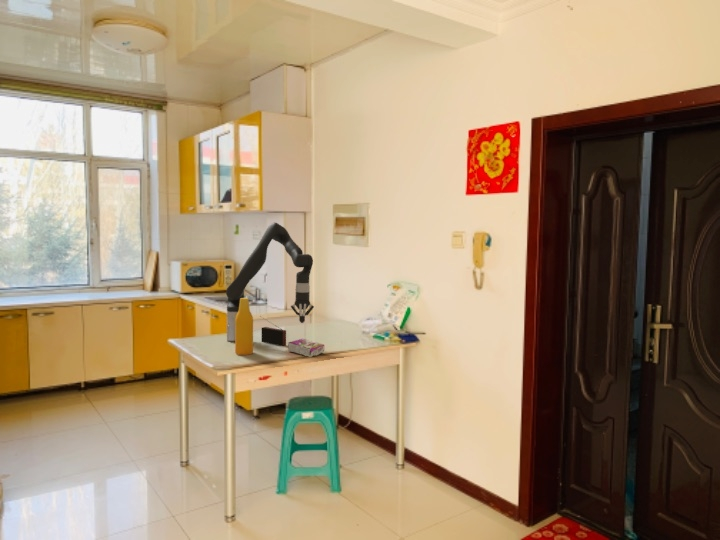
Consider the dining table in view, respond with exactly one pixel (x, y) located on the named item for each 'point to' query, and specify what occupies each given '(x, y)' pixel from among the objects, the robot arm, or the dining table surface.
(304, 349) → the candy bar box
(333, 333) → the dining table surface
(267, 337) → the radio
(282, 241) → the robot arm
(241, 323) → the beer bottle
